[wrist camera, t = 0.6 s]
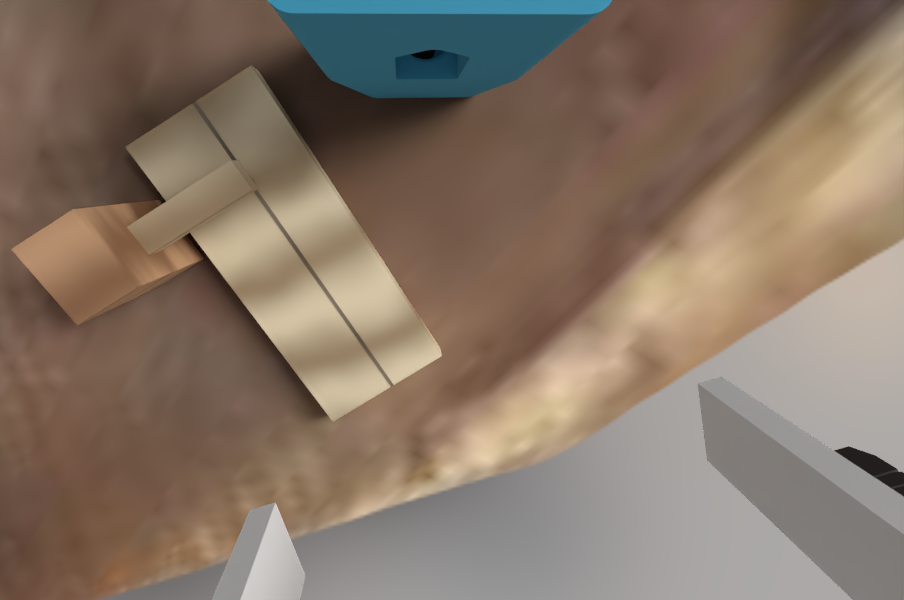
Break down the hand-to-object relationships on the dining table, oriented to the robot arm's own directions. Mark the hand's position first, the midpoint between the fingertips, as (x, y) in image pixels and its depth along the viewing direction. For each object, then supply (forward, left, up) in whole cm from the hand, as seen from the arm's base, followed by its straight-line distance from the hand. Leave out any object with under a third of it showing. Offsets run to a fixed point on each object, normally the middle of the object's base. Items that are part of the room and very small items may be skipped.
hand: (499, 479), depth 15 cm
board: (-8, -7, -26) cm, 28 cm away
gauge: (-14, -12, -26) cm, 31 cm away
